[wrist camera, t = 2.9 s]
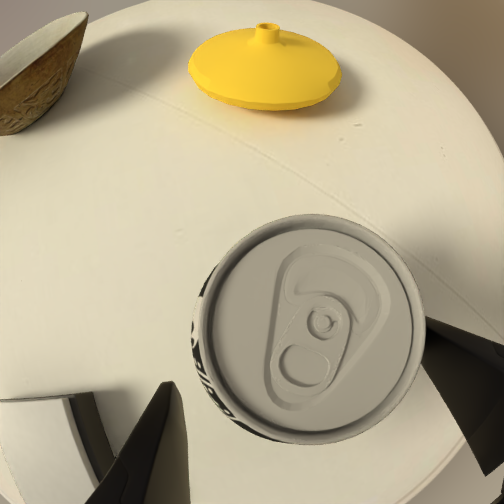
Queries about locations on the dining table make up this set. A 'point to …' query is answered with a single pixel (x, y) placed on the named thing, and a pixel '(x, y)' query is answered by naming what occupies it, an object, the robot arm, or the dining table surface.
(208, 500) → the dining table surface
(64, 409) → the scale
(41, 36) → the bowl
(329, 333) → the beverage can
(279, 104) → the vase
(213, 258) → the dining table surface
